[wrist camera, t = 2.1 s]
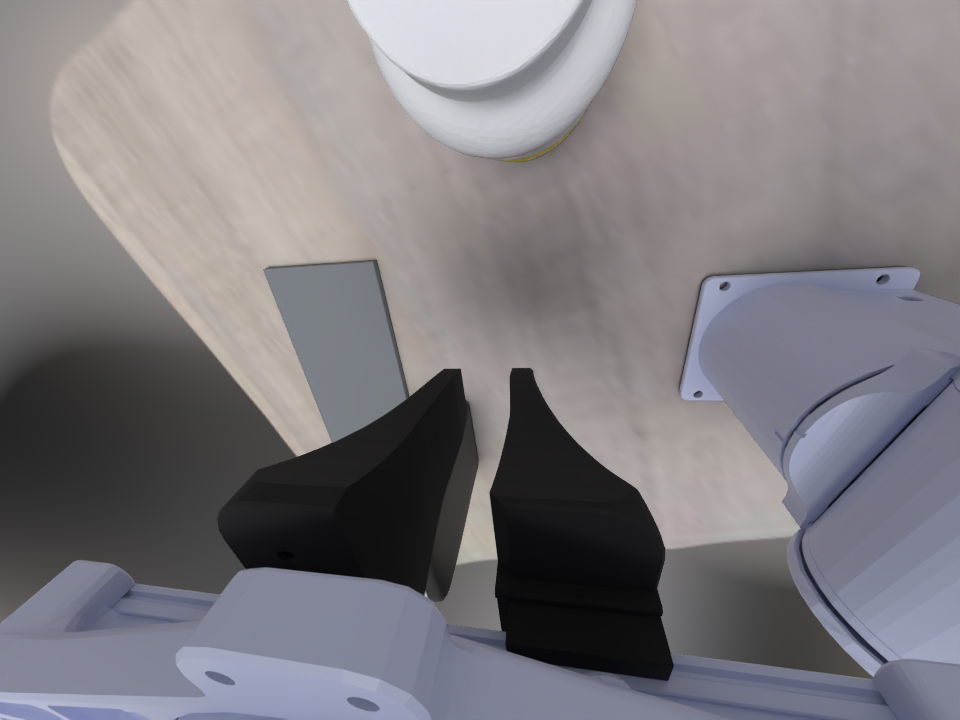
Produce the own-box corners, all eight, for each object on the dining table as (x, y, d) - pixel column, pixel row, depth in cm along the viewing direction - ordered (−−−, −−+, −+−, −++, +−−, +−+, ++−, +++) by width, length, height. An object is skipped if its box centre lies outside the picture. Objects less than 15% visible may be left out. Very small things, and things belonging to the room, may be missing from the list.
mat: (376, 260, 21) (372, 261, 21) (429, 482, 31) (427, 487, 30) (268, 267, 23) (262, 269, 23) (350, 477, 32) (347, 481, 32)
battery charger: (421, 397, 26) (346, 533, 16) (469, 397, 25) (420, 540, 16) (437, 463, 29) (382, 610, 20) (480, 465, 29) (445, 618, 19)
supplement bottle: (460, -28, 15) (186, -661, 3) (615, -8, 14) (868, -675, 3) (446, 152, 18) (283, 122, 7) (570, 173, 17) (611, 177, 6)
